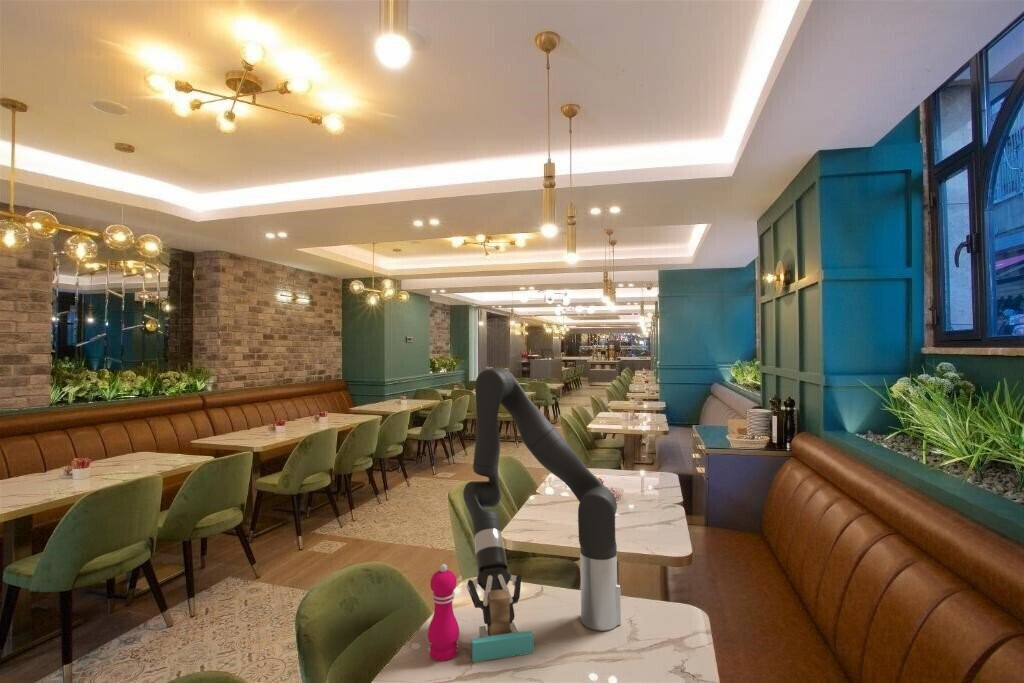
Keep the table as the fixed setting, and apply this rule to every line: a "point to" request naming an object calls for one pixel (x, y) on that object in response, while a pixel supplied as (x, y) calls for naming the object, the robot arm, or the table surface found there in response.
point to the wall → (502, 645)
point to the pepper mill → (443, 616)
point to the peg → (499, 612)
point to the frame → (484, 633)
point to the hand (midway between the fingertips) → (500, 623)
